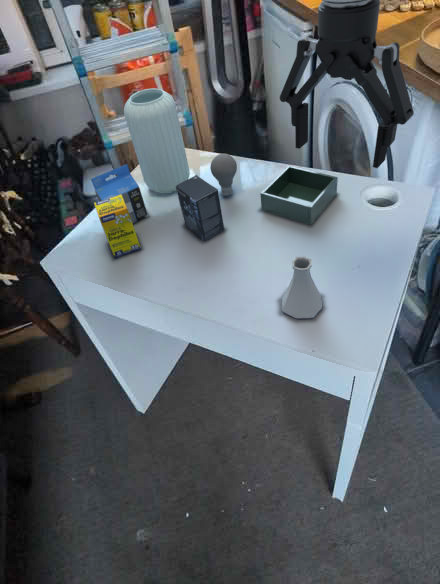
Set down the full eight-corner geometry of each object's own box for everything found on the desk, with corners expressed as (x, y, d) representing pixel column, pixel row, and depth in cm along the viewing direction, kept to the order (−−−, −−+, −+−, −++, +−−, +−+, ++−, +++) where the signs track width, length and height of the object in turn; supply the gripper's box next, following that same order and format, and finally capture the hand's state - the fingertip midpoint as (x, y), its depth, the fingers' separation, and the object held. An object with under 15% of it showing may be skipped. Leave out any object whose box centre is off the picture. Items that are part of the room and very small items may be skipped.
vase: (196, 172, 112) (179, 83, 96) (184, 198, 104) (163, 106, 88) (155, 172, 114) (131, 85, 99) (140, 197, 107) (112, 108, 91)
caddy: (336, 194, 97) (338, 177, 94) (310, 225, 91) (311, 207, 88) (288, 182, 103) (288, 165, 100) (261, 210, 97) (260, 193, 94)
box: (184, 225, 97) (174, 185, 89) (205, 214, 98) (197, 174, 91) (204, 242, 92) (195, 200, 84) (225, 230, 94) (218, 188, 86)
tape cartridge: (114, 233, 98) (96, 186, 89) (107, 225, 101) (89, 179, 92) (148, 217, 101) (134, 170, 92) (141, 209, 103) (127, 163, 94)
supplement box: (115, 259, 92) (98, 217, 84) (109, 243, 96) (93, 202, 88) (142, 249, 93) (127, 207, 85) (135, 234, 97) (121, 193, 89)
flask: (275, 315, 75) (273, 274, 68) (287, 286, 80) (286, 244, 73) (317, 324, 73) (319, 282, 66) (326, 293, 77) (329, 251, 70)
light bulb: (235, 202, 100) (230, 163, 93) (211, 199, 102) (204, 161, 95) (243, 187, 104) (239, 149, 97) (220, 185, 106) (214, 147, 99)
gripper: (251, 3, 59) (261, 147, 74) (440, 13, 46) (405, 185, 61) (281, -13, 62) (285, 128, 78) (465, -7, 50) (426, 160, 65)
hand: (338, 153), depth 69 cm, fingers open, 13 cm apart
